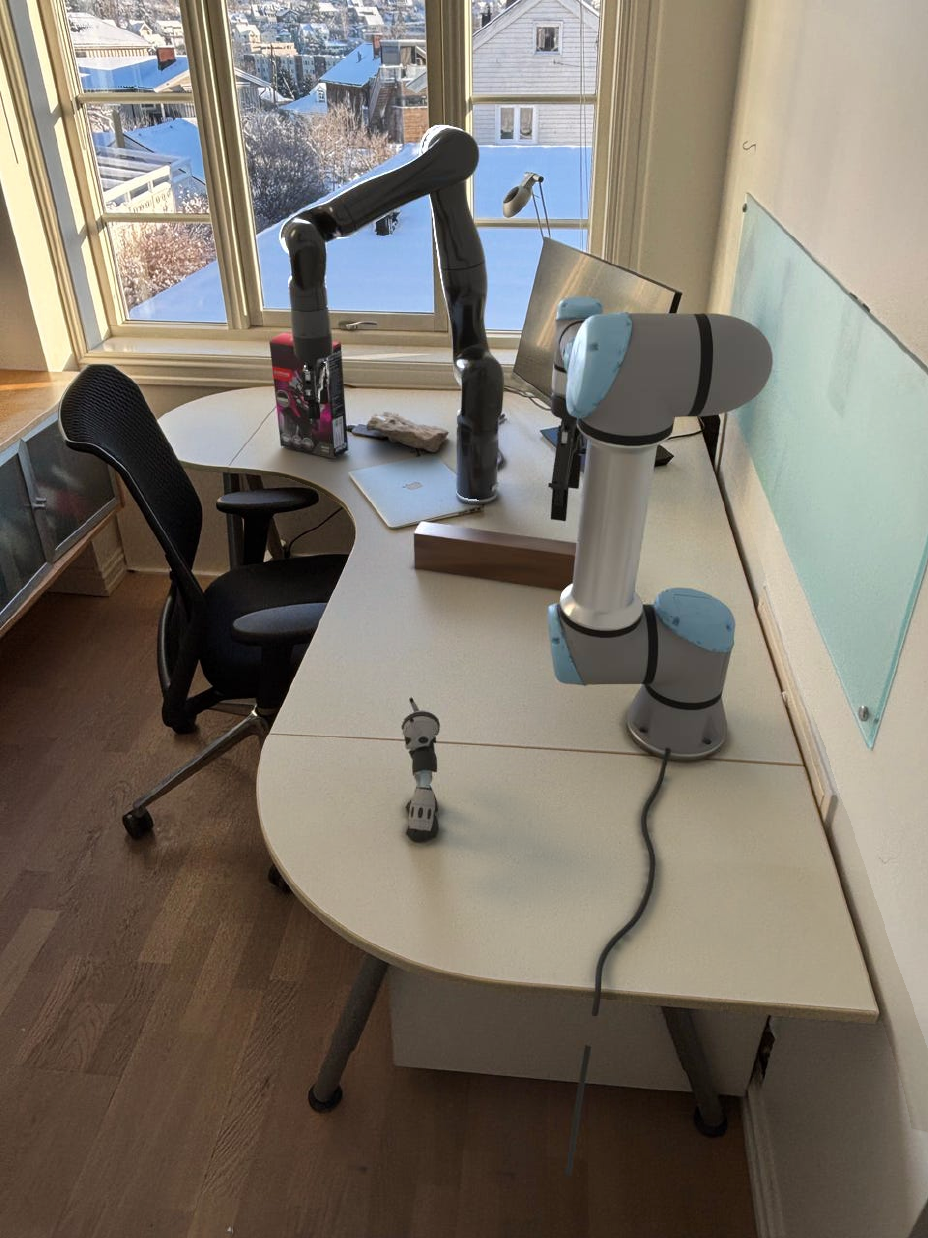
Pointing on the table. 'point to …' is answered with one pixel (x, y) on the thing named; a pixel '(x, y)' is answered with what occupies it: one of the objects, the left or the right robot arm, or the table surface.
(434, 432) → the stone
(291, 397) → the graphics card box
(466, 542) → the walnut beam
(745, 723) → the table surface
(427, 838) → the robot
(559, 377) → the right robot arm
